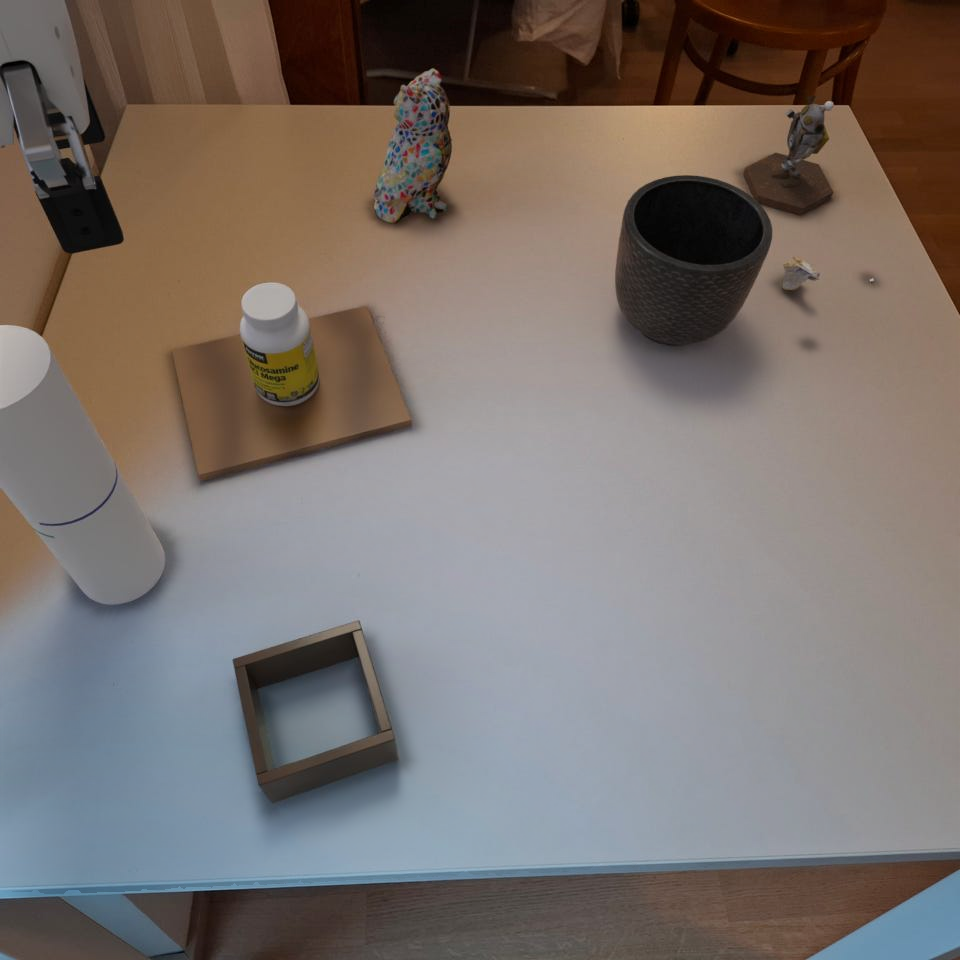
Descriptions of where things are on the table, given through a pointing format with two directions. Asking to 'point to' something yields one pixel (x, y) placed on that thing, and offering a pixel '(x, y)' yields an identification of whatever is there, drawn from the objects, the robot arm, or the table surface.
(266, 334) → the pill bottle
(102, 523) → the cylindrical container
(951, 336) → the table surface
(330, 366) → the board
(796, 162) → the robot figurine
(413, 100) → the figurine
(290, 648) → the holder
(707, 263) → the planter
